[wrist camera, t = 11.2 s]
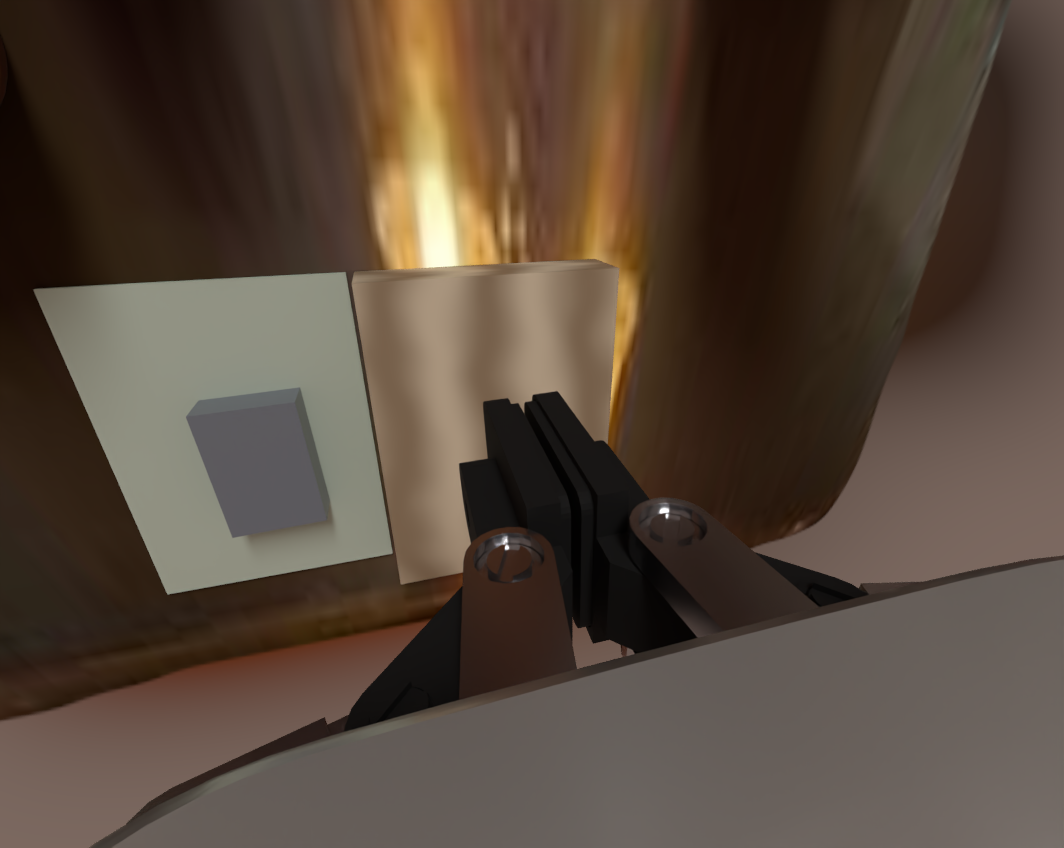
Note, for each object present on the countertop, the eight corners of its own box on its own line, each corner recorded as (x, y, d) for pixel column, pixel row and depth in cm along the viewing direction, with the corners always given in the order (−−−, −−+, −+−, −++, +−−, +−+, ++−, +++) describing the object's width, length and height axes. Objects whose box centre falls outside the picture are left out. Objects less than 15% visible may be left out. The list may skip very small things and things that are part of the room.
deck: (595, 258, 35) (619, 268, 32) (583, 516, 45) (600, 545, 41) (354, 271, 31) (351, 283, 28) (398, 550, 41) (400, 584, 38)
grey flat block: (185, 417, 30) (198, 400, 32) (232, 538, 34) (241, 516, 36) (294, 402, 31) (299, 387, 33) (327, 520, 35) (329, 500, 37)
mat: (345, 272, 31) (345, 272, 31) (392, 551, 41) (392, 553, 41) (36, 288, 27) (32, 289, 27) (169, 591, 37) (167, 594, 37)
